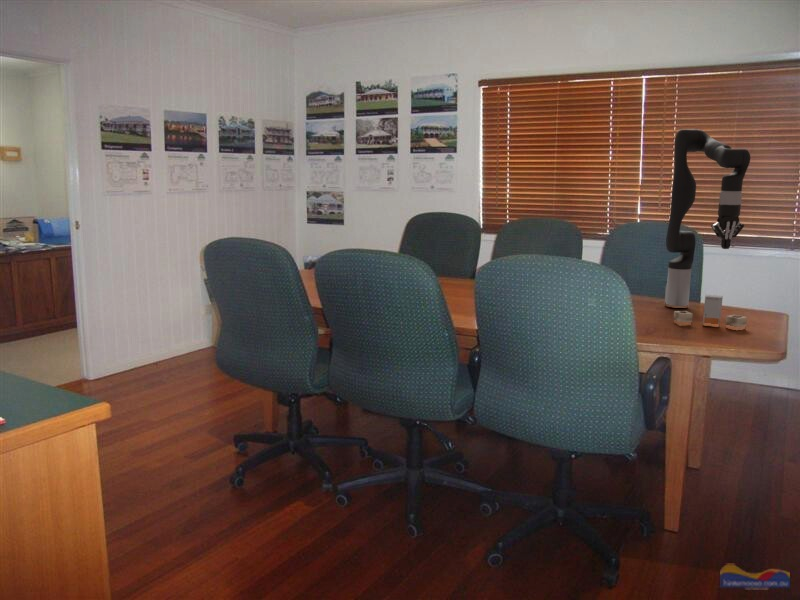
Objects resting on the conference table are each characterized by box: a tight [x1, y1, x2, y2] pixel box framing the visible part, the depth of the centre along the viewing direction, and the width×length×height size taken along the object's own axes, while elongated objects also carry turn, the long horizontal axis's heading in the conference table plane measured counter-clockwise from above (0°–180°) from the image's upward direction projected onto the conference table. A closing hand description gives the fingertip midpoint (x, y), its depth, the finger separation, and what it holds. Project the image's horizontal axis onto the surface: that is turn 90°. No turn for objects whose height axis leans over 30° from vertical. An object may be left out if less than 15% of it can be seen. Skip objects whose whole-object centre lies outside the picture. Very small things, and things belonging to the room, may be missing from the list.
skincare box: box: [702, 294, 724, 325], centre depth 256 cm, size 6×4×12 cm
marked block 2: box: [725, 314, 748, 327], centre depth 252 cm, size 5×5×5 cm
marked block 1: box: [673, 310, 693, 323], centre depth 260 cm, size 5×5×5 cm
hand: (725, 248), depth 255 cm, fingers closed
